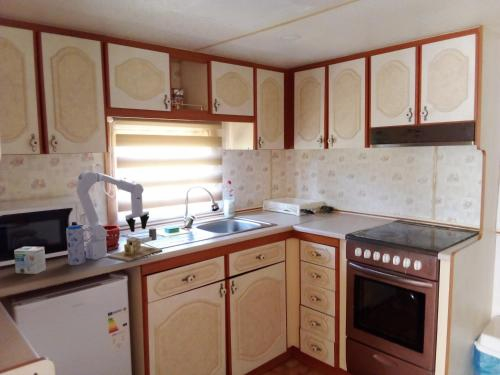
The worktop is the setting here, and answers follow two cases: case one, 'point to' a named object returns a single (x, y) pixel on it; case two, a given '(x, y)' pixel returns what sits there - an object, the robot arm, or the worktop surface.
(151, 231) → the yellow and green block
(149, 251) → the bearing stand
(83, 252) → the patterned water bottle
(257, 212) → the worktop surface
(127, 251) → the brass spacer
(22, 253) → the light bulb box
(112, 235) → the plant pot
